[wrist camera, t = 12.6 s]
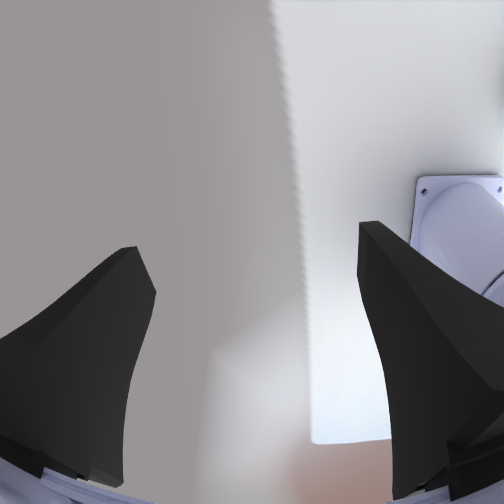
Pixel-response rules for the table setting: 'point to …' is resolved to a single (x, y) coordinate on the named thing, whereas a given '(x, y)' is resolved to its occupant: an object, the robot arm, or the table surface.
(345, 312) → the table surface
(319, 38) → the table surface
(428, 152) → the table surface
